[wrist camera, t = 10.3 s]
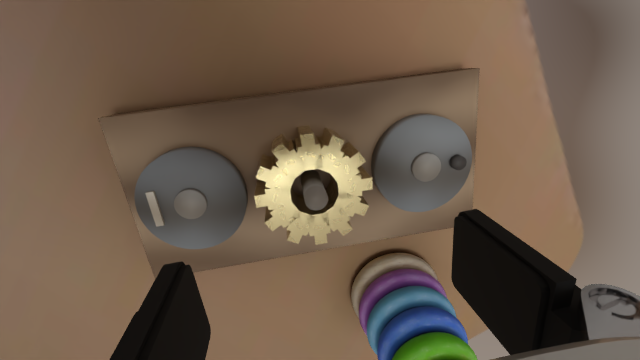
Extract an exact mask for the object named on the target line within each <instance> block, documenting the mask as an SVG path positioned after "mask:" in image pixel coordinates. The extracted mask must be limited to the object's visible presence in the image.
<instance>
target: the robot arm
mask: <svg viewBox="0 0 640 360" xmlns="http://www.w3.org/2000/svg"><path fill="white" fill-rule="evenodd" d="M452 282H453V285H454V287H455V288H456V289H457V290H458V292H459V293H460V294H461V295H462V297H463V298H464V299H465V300H466V301H467V303H468V304H469V305H470V306H471V307H472V309H473V310H474V311H475V312H476V314H477V315H478V316H479V317H480V318H481V320H482V321H483V322H484V323H485V325H486V326H487V327H488V328H489V329H490V331H491V332H492V333H493V334H494V335H495V337H496V338H497V339H498V340H499V342H500V343H501V344H502V345H503V346H504V348H505V349H506V350H507V351H508V352H509V354H510V355H509V356H505V357H500V358H496V359H491V360H640V297H639V296H638V295H636V294H634V293H632V292H630V291H627V290H625V289H622V288H619V287H615V286H612V285H605V284H591V285H588V286H585V287H584V288H583V289H580V288H579V287H577V286H576V285H575V283H576V278H574V277H573V276H571V275H570V274H569V273H567V272H566V271H564V270H563V269H562V268H560V267H559V266H557V265H556V264H554V263H553V262H552V261H550V260H549V259H547V258H546V257H545V256H543V255H542V254H540V253H539V252H537V251H536V250H535V249H533V248H532V247H530V246H529V245H527V244H526V243H525V242H523V241H522V240H520V239H519V238H518V237H516V236H515V235H513V234H512V233H510V232H509V231H508V230H506V229H505V228H503V227H502V226H500V225H499V224H498V223H496V222H495V221H493V220H492V219H491V218H489V217H488V216H486V215H485V214H483V213H482V212H481V211H479V210H477V209H473V210H468V211H462V212H460V213H459V214H458V216H457V217H455V219H454V235H453V256H452ZM210 333H211V332H210V324H209V321H208V318H207V315H206V312H205V309H204V306H203V302H202V299H201V296H200V293H199V290H198V287H197V284H196V281H195V277H194V274H193V271H192V268H191V266H190V265H185V263H184V262H182V261H181V262H175V263H170V264H165V265H163V267H162V268H161V270H160V272H159V274H158V276H157V277H156V279H155V281H154V283H153V285H152V287H151V289H150V290H149V292H148V294H147V296H146V298H145V300H144V301H143V303H142V305H141V307H140V309H139V311H138V312H136V314H135V315H134V316H133V318H132V320H131V322H130V324H129V325H128V327H127V329H126V331H125V333H124V334H123V336H122V338H121V340H120V342H119V344H118V345H117V347H116V349H115V351H114V353H113V354H112V356H111V358H110V360H205V358H206V353H207V349H208V344H209V340H210Z"/></svg>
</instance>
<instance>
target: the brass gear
mask: <svg viewBox="0 0 640 360" xmlns="http://www.w3.org/2000/svg"><path fill="white" fill-rule="evenodd" d="M297 129H298V136H299V137H296V138H294V139H295V143H294V141H293V140H292V139H291V140H290V141H287V140H286V138H285V137H284V136H283V135H282V134H280V135H279V136H278V137H277V138H275V139H274V140H273V141H272V150H271V151H272V152H273V154H274V155H273V157H269V156H266V155H264V154H262V157H261V159H260V162H259V165H258V169H257V174H256V179H259V180H257V184H256V189H255V194H254V198H255V203H256V208H259V207H265V206H266V212H265V222H264V223H265V224H266V225H267V226H268V227H269V228H270V229H271V230H272V231H274V230H275V229H277V228H278V227H279V226H281V225H282V227H283V228H285V227H286V229H287V241H291V242H294V243H297V244H299V242H300V239H301V237H302V235H304V236H307V235H308V232H309V235H310V236H314V240H315V244H316V245H318V244H324V243H327V235H326V234H328V233H331V230H330V228H331V229H332V230H333V232H334V231H335V230H337V229H338V231H339V232H340V233H341V234H342V235H343V236H344V235H346V234H347V233H349V232H350V231H351V230H353V228H352V226H351V224H350V222H349V220H350V217H349V216H351V217H353V215H354V213H356V214H359V215H362V216H364V215H365V213H366V211H367V209H368V207H369V205H368V203H367V202H366V200H365V199H364V197H363V196H362V191H365V190H372V189H373V186H372V177H371V176H370V175H369V174H368V173H367V172H366V170H365V169H364V168H363V167H362V166H361V165H362V164H364V163H365V162H366V161H365V159H364V158H363V156H362V155H361V154H360V152H359V151H358V150H357V149H356V148H355V147H354V146H353V145H352V144H351V143H350V142H347V143H346V144H345V145H343V143H344V141H345V140H344V139H343V138H342V137H341V136H340V135H339V134H338V133H337V132H335V131H333V130H331V129H328V128H326V127H325V130H324V132H323V134H322V137H321V136H318V135H317V138H316V136H315V135H314V133H313V131H312V130H311V128H310V126H309V125H308V126H300V127H297ZM314 169H320V170H323V171H325V172H328V173H330V174H331V181H330V184H329V186H328V188H327V190H325V191H326V193H327V196H328V202H327V205H326V206H325V207H324V208H323V209H321V210H311V209H309V208H308V207H307V206H306V204H305V200H304V196H301V195H298V194H297V193H296V192H295V191H294V190H293V189H292V188H291V186H292V184H293V182H294V179H295V178H296V177H298V176H299V175H300V174H302V173H303V172H304V171H307V170H314Z"/></svg>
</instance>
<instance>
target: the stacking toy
mask: <svg viewBox="0 0 640 360" xmlns="http://www.w3.org/2000/svg"><path fill="white" fill-rule="evenodd" d="M351 301H352V305H353V309H354V311H355V313H356V315H357V316H358V318H359V320H360V324H361V326H362V328H363V330H364V332H365V333H366V335H367V337H368V341H369V343H370V346H371V348H372V349H373V351H374V352H375V353H376V354H377V355H378V360H477V357H476V355H475V354H474V352H473V350H472V349H471V348H470V346H469V345H468V339H467V335H466V332H465V330H464V327H463V326H462V324H461V323H460V321H459V320H458V319H457V318H456V314H455V311H454V308H453V306H452V305H451V303H450V302H449V300H448V299H447V296H446V293H445V291H444V289H443V287H442V285H441V284H440V283H439V282H438V279H437V276H436V274H435V272H434V270H433V269H432V268H431V266H430V265H429V264H428V263H427V262H425V261H424V260H423V259H421V258H419V257H417V256H415V255H412V254H407V253H391V254H386V255H383V256H380V257H378V258H376V259H374V260H372V261H371V262H369V263H368V264H367V265H365V266H364V267H363V268H362V270H361V271H360V272H359V273H358V275H357V276H356V278H355V280H354V283H353V286H352V291H351Z"/></svg>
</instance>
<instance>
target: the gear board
mask: <svg viewBox="0 0 640 360" xmlns="http://www.w3.org/2000/svg"><path fill="white" fill-rule="evenodd" d="M479 70H480V68H468V69H457V70H449V71H441V72H434V73H426V74H419V75H411V76H403V77H396V78H388V79H380V80H373V81H365V82H358V83H350V84H342V85H335V86H327V87H319V88H312V89H304V90H297V91H289V92H281V93H274V94H266V95H258V96H251V97H243V98H236V99H228V100H220V101H213V102H205V103H197V104H190V105H182V106H175V107H167V108H159V109H152V110H144V111H136V112H129V113H121V114H114V115H110V116H106V117H102V118H98V120H99V122H100V125H101V128H102V131H103V134H104V137H105V139H106V142H107V145H108V148H109V151H110V153H111V156H112V159H113V162H114V165H115V167H116V170H117V173H118V176H119V179H120V181H121V184H122V187H123V190H124V193H125V195H126V198H127V201H128V204H129V207H130V209H131V212H132V215H133V218H134V221H135V223H136V226H137V229H138V232H139V235H140V238H141V240H142V243H143V246H144V249H145V252H146V254H147V257H148V260H149V263H150V266H151V268H152V271H153V274H154V277H155V279H156V277H157V276H158V274H159V272H160V270H161V268H162V267H163V265H165V264H170V263H175V262H181V261H182V262H184V263H185V265H190V266H191V268H192V271H193V272H199V271H205V270H210V269H216V268H222V267H228V266H233V265H239V264H245V263H251V262H257V261H262V260H268V259H274V258H280V257H285V256H291V255H297V254H303V253H308V252H314V251H320V250H326V249H331V248H337V247H343V246H349V245H355V244H360V243H366V242H372V241H378V240H383V239H389V238H395V237H401V236H406V235H412V234H418V233H424V232H430V231H435V230H441V229H447V228H453V227H454V219H455V217H457V216H458V214H459V213H460V212H462V211H468V210H472V208H473V188H474V169H475V149H476V129H477V110H478V90H479ZM308 125H309V126H310V128H311V130H312V131H313V133H314V135H315V136H316V138H317V135H318V136H321V137H322V134H323V132H324V130H325V127H326V128H328V129H331V130H333V131H335V132H337V133H338V134H339V135H340V136H341V137H342V138H343V139H344V140H345V141H344V143H343V145H345V144H346V143H347V142H350V143H351V144H352V145H353V146H354V147H355V148H356V149H357V150H358V151H359V152H360V154H361V155H362V156H363V158H364V159H365V161H366V162H365V163H364V164H362V165H361V166H362V167H363V168H364V169H365V170H366V172H367V173H368V174H369V175H370V176H371V177H372V186H373V189H372V190H365V191H362V196H363V197H364V199H365V200H366V202H367V203H368V205H369V207H368V209H367V211H366V213H365V215H364V216H362V215H359V214H356V213H354V215H353V217H351V216H349V217H350V220H349V222H350V224H351V226H352V228H353V230H351V231H350V232H349V233H347V234H346V235H344V236H343V235H342V234H341V233H340V232H339V231H338V229H337V230H335V231H334V232H333V230H332V229H331V228H330V230H331V233H328V234H326V235H327V243H324V244H318V245H316V244H315V240H314V236H310V235H309V232H308V235H307V236H304V235H302V237H301V239H300V242H299V244H297V243H294V242H291V241H287V229H286V227H285V228H283V227H282V225H281V226H279V227H278V228H277V229H275V230H274V231H272V230H271V229H270V228H269V227H268V226H267V225H266V224H265V223H264V222H265V212H266V206H265V207H259V208H256V203H255V198H254V194H255V189H256V184H257V180H259V179H256V174H257V169H258V165H259V162H260V159H261V157H262V154H264V155H266V156H269V157H273V155H274V154H273V152H272V151H271V150H272V141H273V140H274V139H275V138H277V137H278V136H279V135H280V134H282V135H283V136H284V137H285V138H286V140H287V141H290V140H291V139H292V140H293V141H294V143H295V139H294V138H296V137H299V136H298V129H297V127H300V126H308ZM330 181H331V174H330V173H328V172H325V171H323V170H320V169H314V170H307V171H304V172H303V173H302V174H300V175H299V176H298V177H296V178H295V179H294V182H293V184H292V186H291V188H292V189H293V190H294V191H295V192H296V193H297V194H298V195H301V196H304V200H305V204H306V206H307V207H308V208H309V209H311V210H321V209H323V208H324V207H325V206H326V205H327V202H328V196H327V193H326V191H325V190H327V188H328V186H329V184H330Z"/></svg>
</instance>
